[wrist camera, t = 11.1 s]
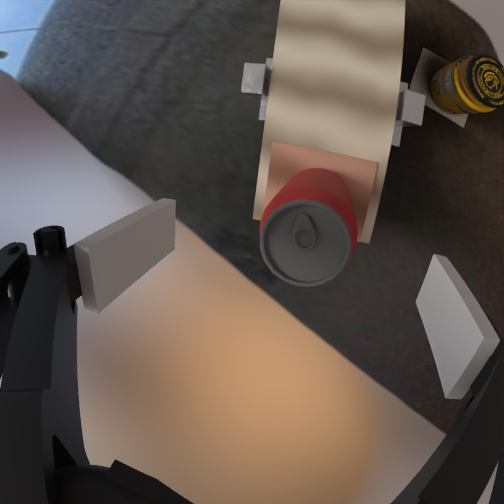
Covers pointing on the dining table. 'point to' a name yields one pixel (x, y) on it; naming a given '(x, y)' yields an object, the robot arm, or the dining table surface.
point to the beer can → (309, 229)
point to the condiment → (459, 84)
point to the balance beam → (333, 98)
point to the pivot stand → (406, 113)
